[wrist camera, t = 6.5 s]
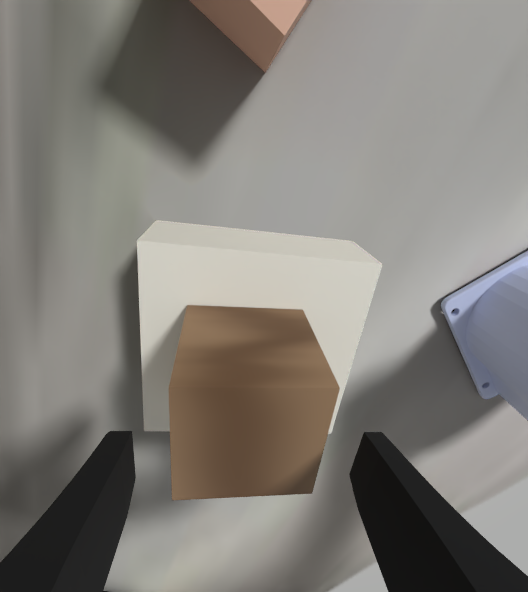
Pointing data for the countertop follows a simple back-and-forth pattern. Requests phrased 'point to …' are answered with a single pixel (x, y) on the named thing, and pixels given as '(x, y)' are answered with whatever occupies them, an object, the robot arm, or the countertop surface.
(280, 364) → the walnut cube
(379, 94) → the countertop surface
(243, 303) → the base block
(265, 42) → the terracotta block
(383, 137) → the countertop surface
